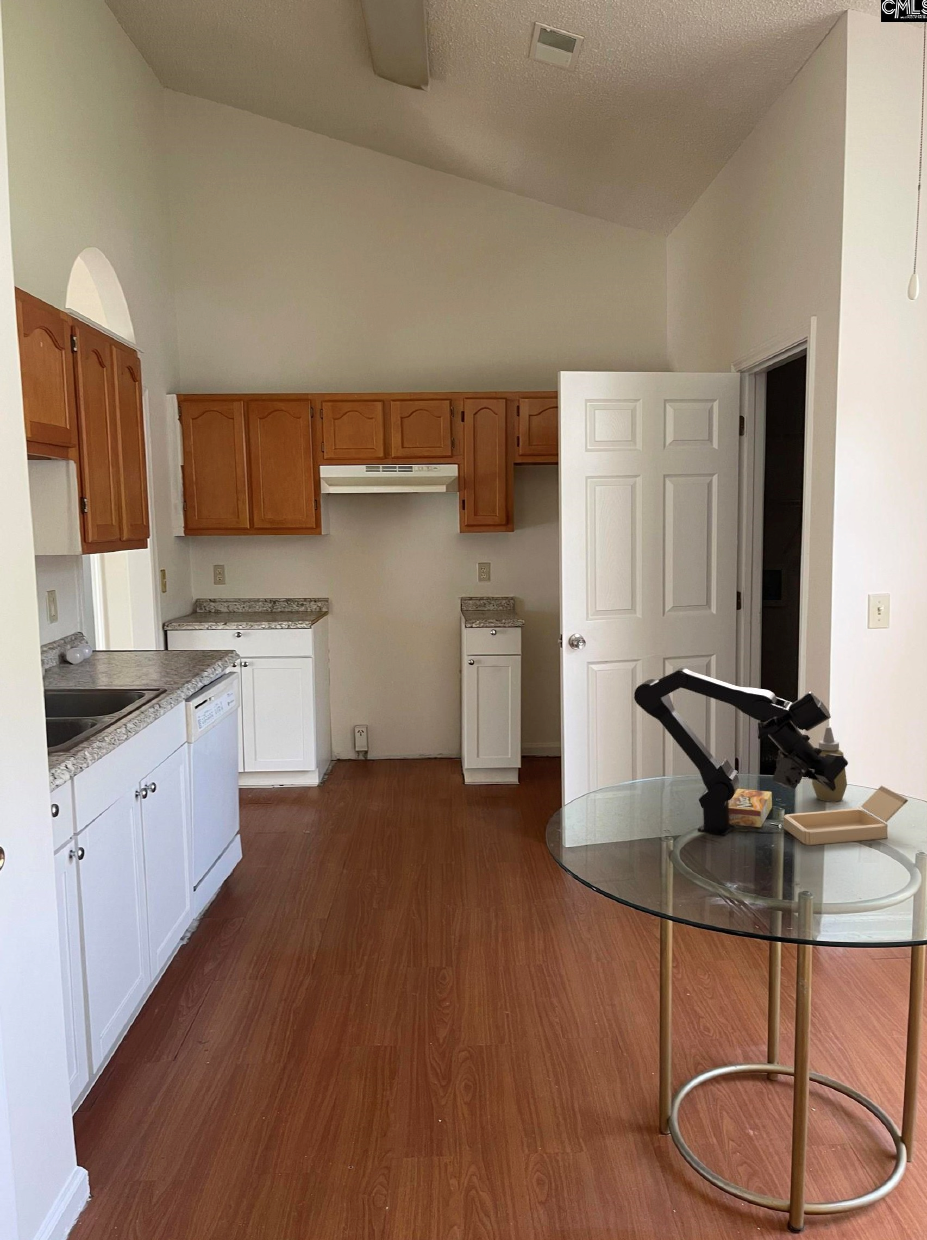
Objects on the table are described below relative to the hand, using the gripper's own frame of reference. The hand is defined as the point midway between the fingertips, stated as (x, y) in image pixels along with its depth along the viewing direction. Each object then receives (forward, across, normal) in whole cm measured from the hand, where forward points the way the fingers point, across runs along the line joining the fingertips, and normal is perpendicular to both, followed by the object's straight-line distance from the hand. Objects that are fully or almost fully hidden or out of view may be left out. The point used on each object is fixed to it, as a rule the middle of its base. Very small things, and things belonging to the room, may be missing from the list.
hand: (833, 789), depth 193 cm
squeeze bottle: (+14, -20, +6) cm, 25 cm away
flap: (+10, +2, +2) cm, 10 cm away
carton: (+7, 0, -7) cm, 10 cm away
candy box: (0, -23, -8) cm, 24 cm away
